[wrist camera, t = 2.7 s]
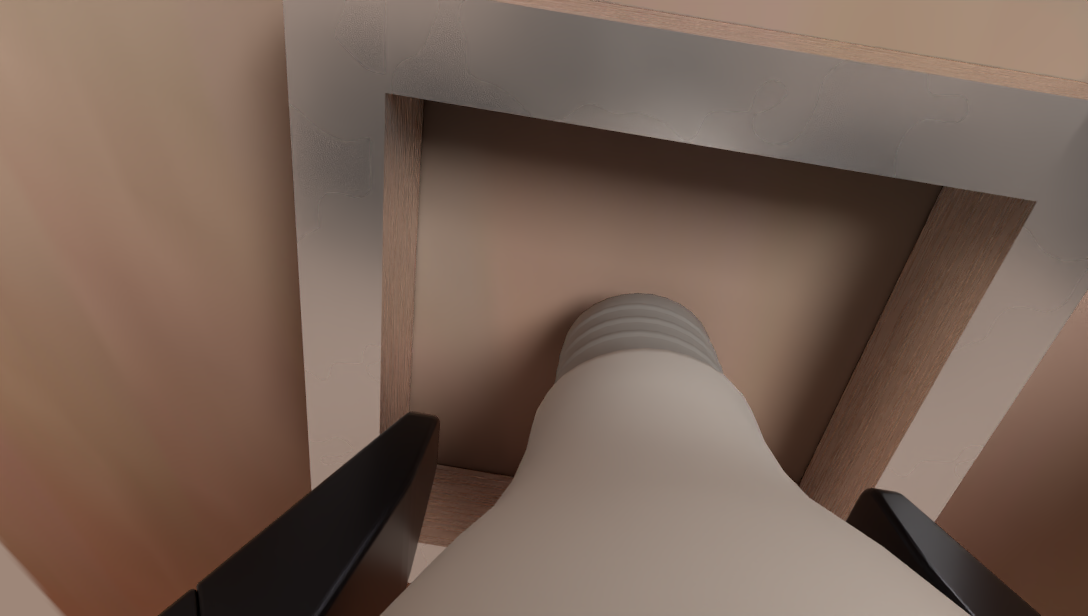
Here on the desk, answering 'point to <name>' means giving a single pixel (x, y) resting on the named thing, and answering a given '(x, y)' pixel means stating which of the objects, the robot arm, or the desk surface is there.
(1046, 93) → the grey flat square frame
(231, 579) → the robot arm
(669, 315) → the lightbulb
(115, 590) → the desk surface
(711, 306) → the desk surface
